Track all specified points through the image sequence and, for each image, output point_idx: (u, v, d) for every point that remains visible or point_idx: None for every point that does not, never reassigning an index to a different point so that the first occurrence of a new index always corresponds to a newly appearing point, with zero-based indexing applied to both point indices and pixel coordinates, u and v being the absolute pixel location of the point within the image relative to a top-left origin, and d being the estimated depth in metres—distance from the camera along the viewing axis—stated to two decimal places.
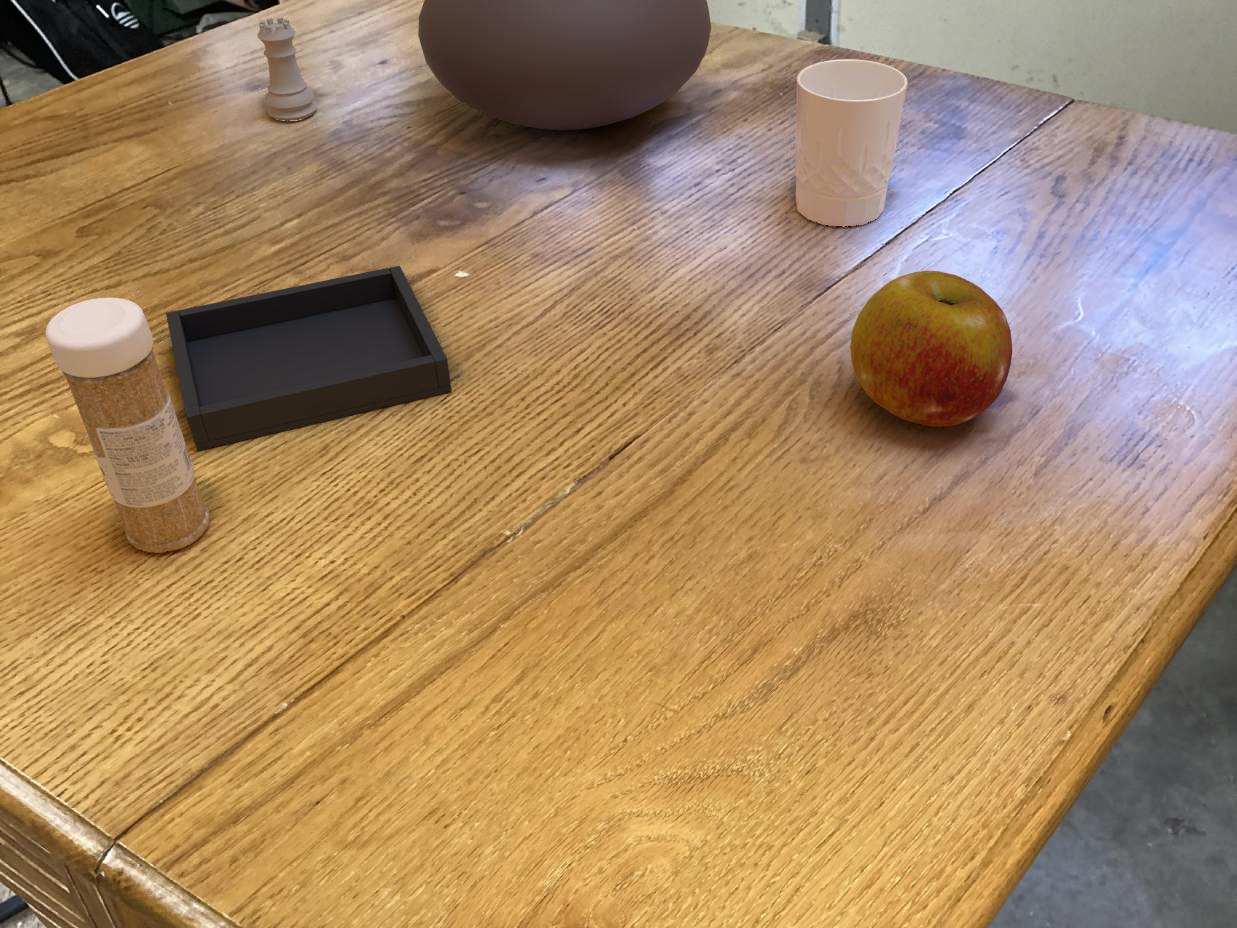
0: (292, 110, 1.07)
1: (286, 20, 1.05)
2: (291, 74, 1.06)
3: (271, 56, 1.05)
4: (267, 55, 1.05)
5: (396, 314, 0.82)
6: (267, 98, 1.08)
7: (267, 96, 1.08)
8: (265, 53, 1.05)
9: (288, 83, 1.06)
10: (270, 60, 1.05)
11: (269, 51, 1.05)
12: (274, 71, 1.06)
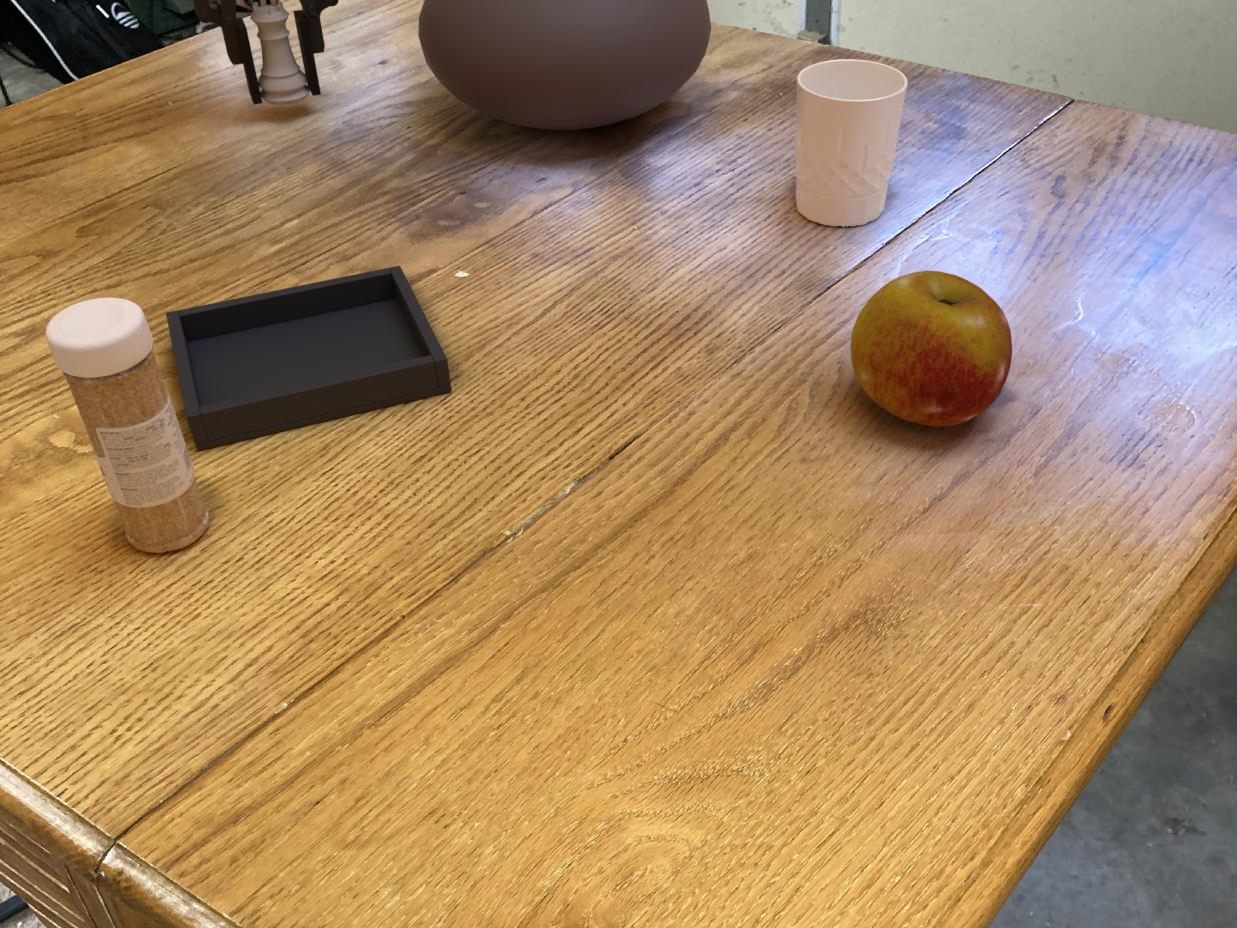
0: (285, 93, 1.06)
1: (279, 2, 1.04)
2: (284, 56, 1.05)
3: (264, 38, 1.04)
4: (260, 37, 1.04)
5: (396, 314, 0.82)
6: (259, 81, 1.06)
7: (260, 79, 1.07)
8: (258, 35, 1.04)
9: (281, 66, 1.05)
10: (263, 42, 1.04)
11: (262, 33, 1.04)
12: (267, 53, 1.05)
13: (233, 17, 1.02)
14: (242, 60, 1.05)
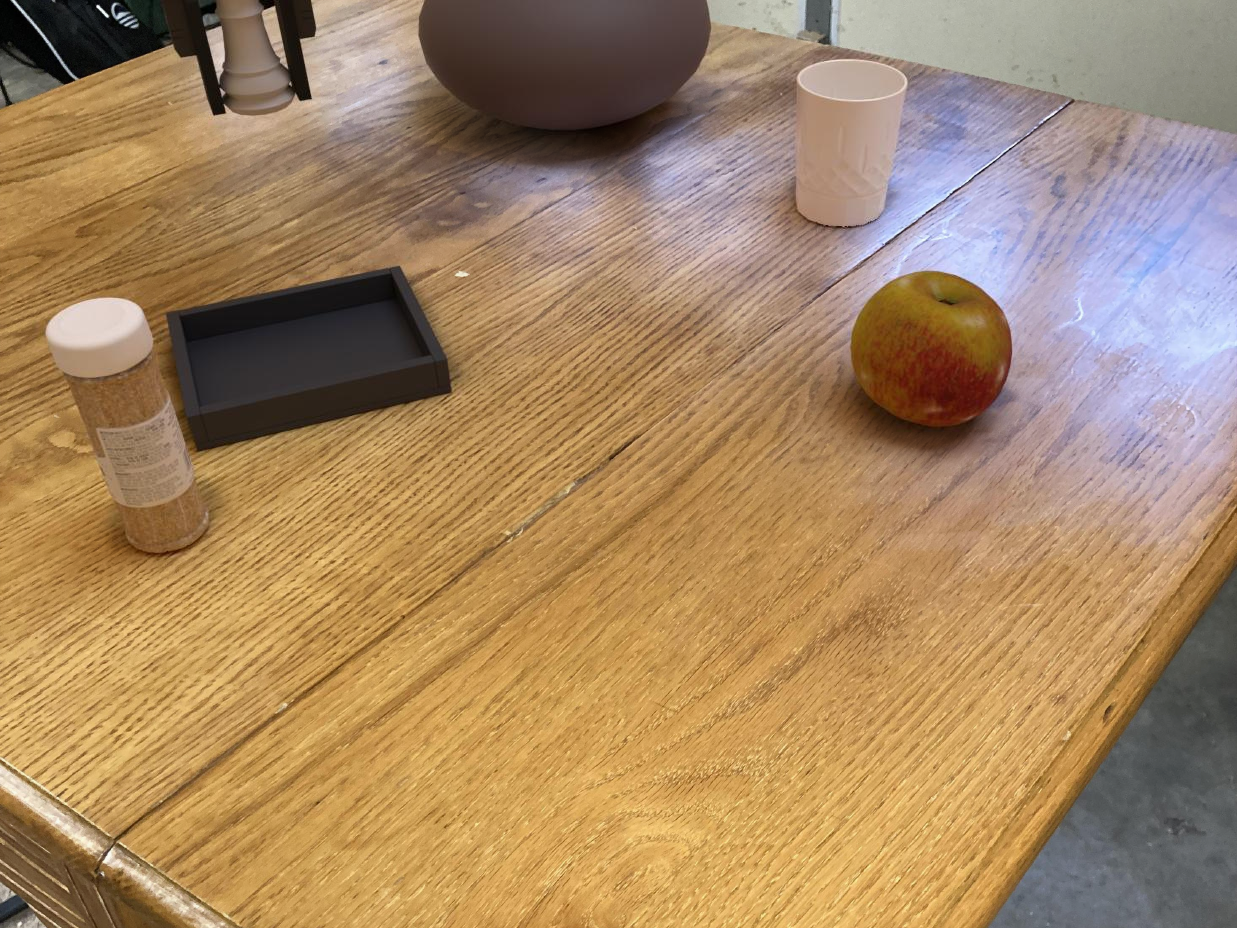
0: (259, 98, 0.72)
1: None
2: (256, 43, 0.71)
3: (226, 16, 0.70)
4: (220, 15, 0.70)
5: (396, 314, 0.82)
6: (221, 80, 0.72)
7: (221, 77, 0.72)
8: (217, 12, 0.70)
9: (252, 57, 0.71)
10: (224, 23, 0.70)
11: (223, 8, 0.70)
12: (231, 39, 0.71)
13: None
14: (194, 50, 0.70)
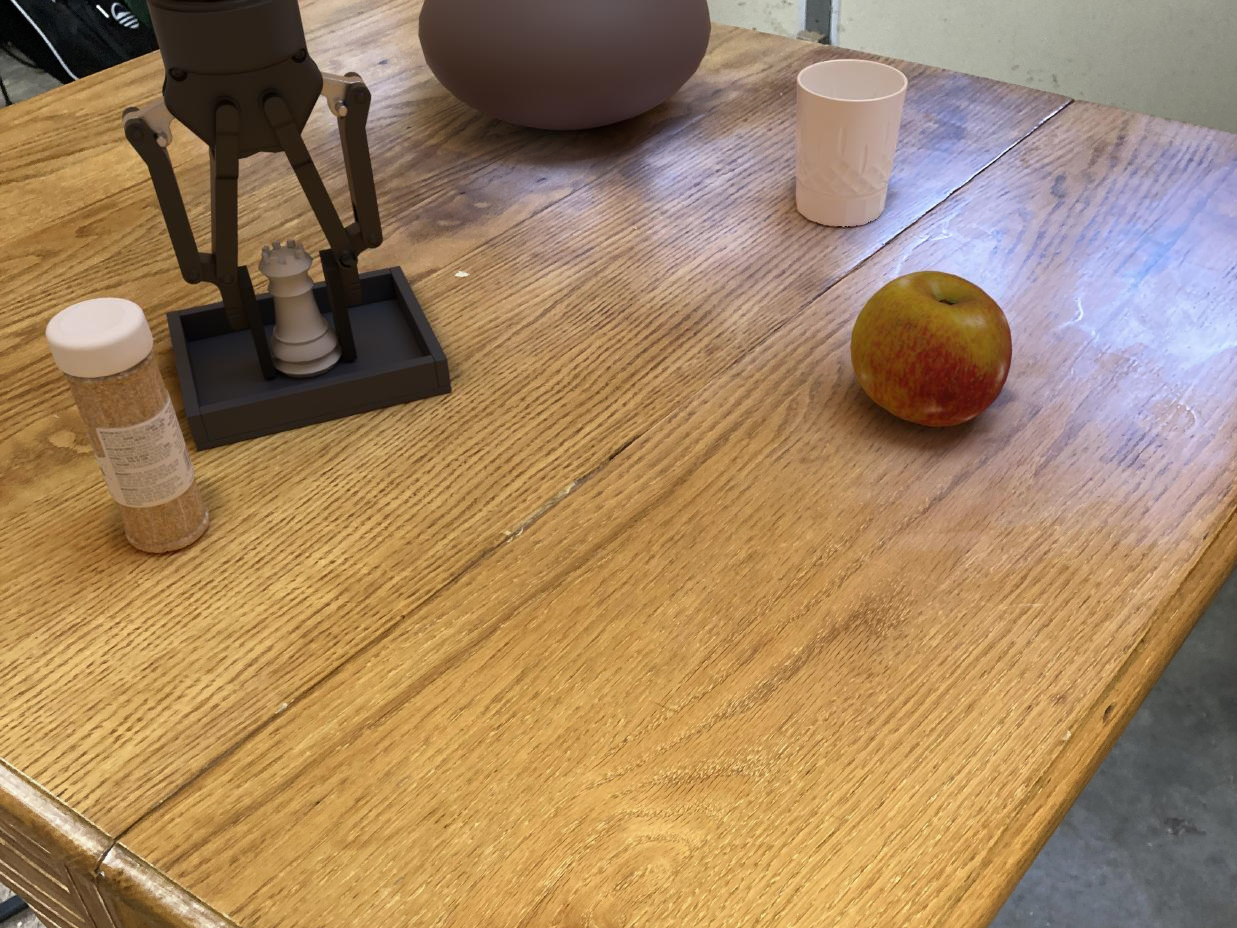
0: (308, 363, 0.76)
1: (299, 244, 0.73)
2: (306, 316, 0.75)
3: (278, 295, 0.73)
4: (272, 293, 0.74)
5: (396, 314, 0.82)
6: (272, 345, 0.76)
7: (272, 342, 0.76)
8: (269, 289, 0.74)
9: (302, 328, 0.75)
10: (276, 299, 0.74)
11: (275, 287, 0.73)
12: (282, 313, 0.75)
13: (234, 273, 0.71)
14: (247, 324, 0.74)
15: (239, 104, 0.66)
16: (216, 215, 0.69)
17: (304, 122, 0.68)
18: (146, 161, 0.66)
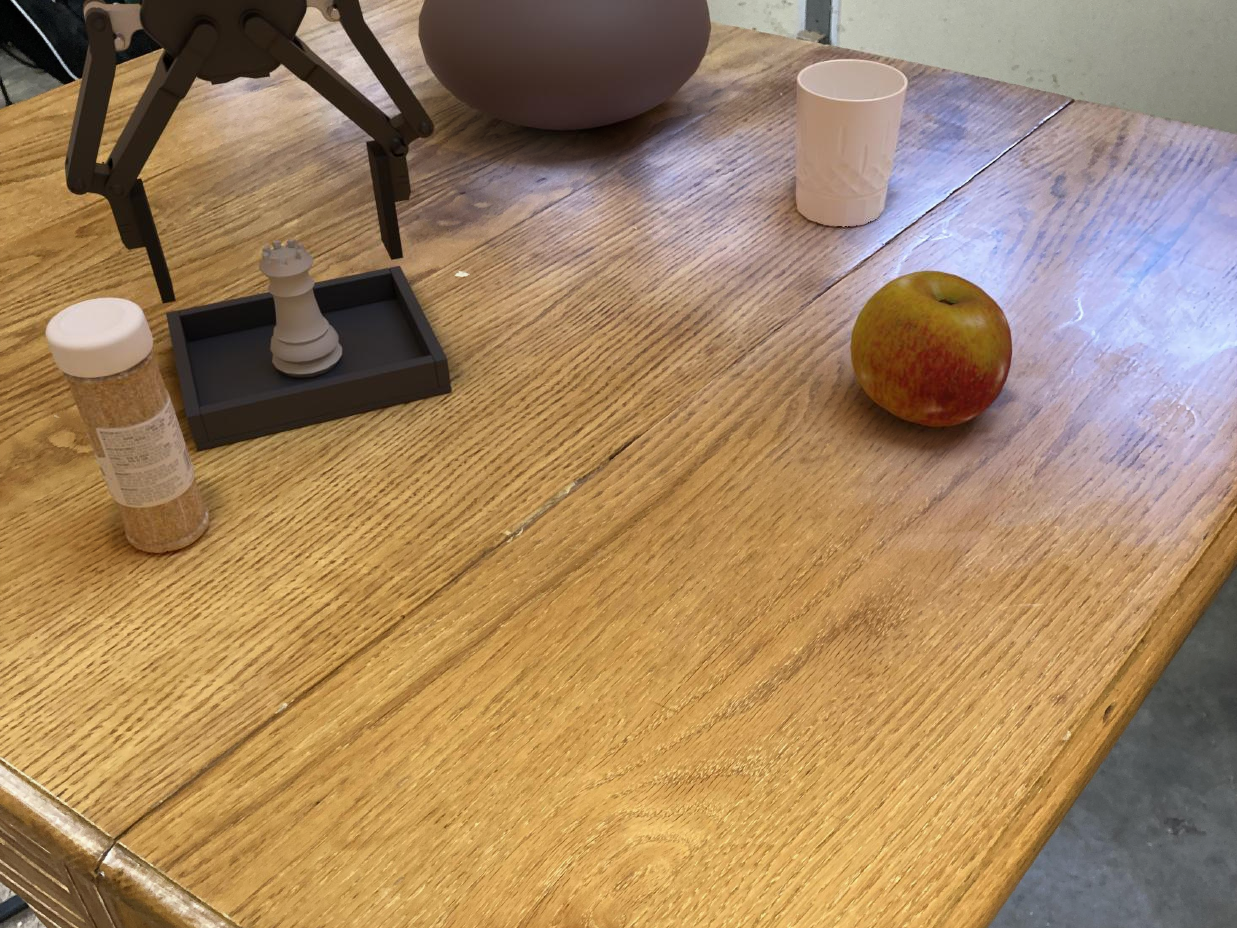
0: (308, 363, 0.76)
1: (300, 244, 0.73)
2: (306, 316, 0.75)
3: (279, 295, 0.74)
4: (273, 293, 0.74)
5: (396, 314, 0.82)
6: (273, 345, 0.76)
7: (273, 342, 0.76)
8: (270, 289, 0.74)
9: (302, 328, 0.75)
10: (277, 299, 0.74)
11: (276, 287, 0.73)
12: (283, 313, 0.75)
13: (126, 188, 0.66)
14: (142, 242, 0.69)
15: (219, 25, 0.63)
16: (140, 124, 0.65)
17: None
18: (93, 54, 0.62)
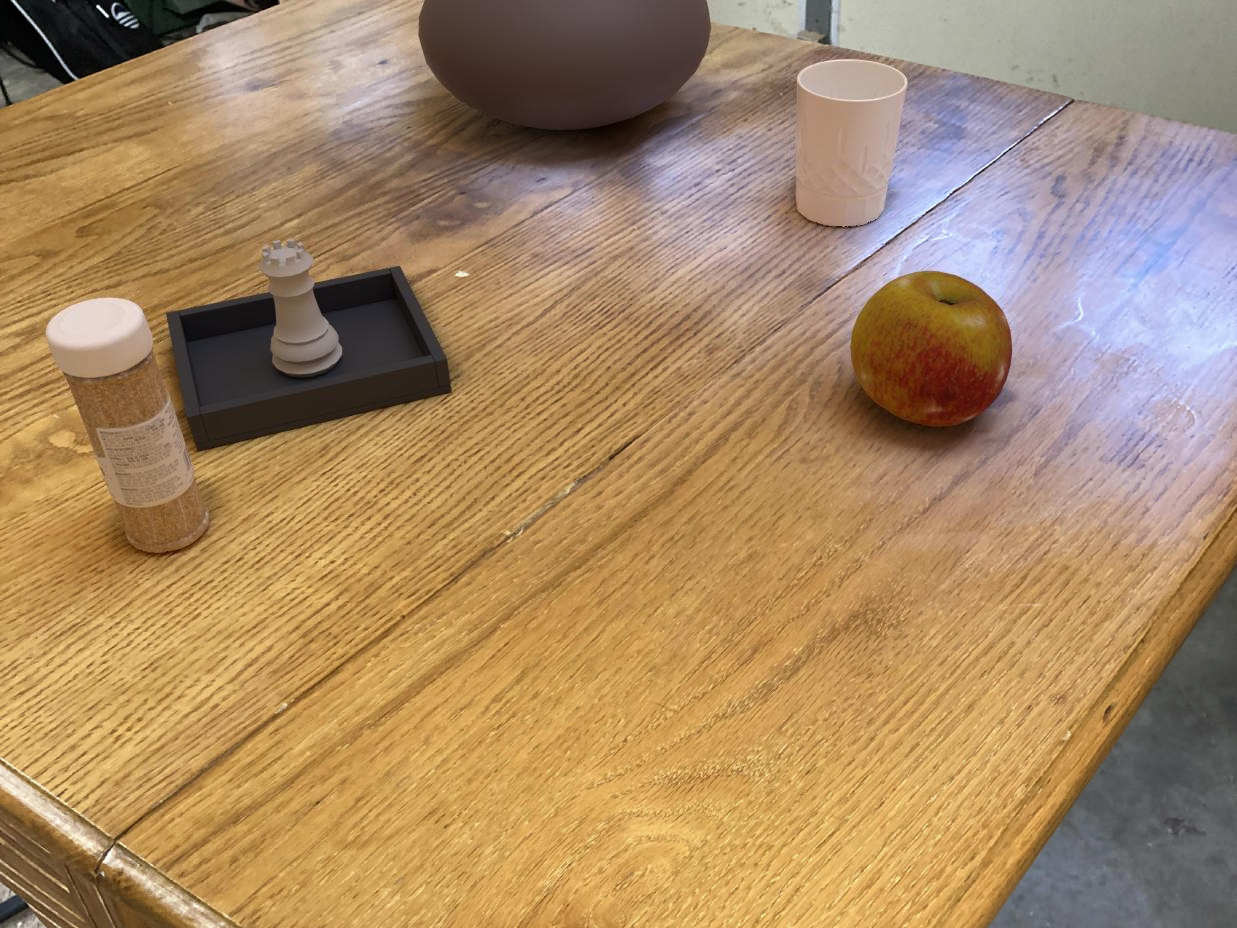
0: (308, 363, 0.76)
1: (300, 244, 0.73)
2: (306, 316, 0.75)
3: (279, 295, 0.74)
4: (273, 293, 0.74)
5: (396, 314, 0.82)
6: (273, 345, 0.76)
7: (273, 342, 0.76)
8: (270, 289, 0.74)
9: (302, 328, 0.75)
10: (277, 299, 0.74)
11: (276, 287, 0.73)
12: (283, 313, 0.75)
13: None
14: None
15: None
16: None
17: None
18: None
